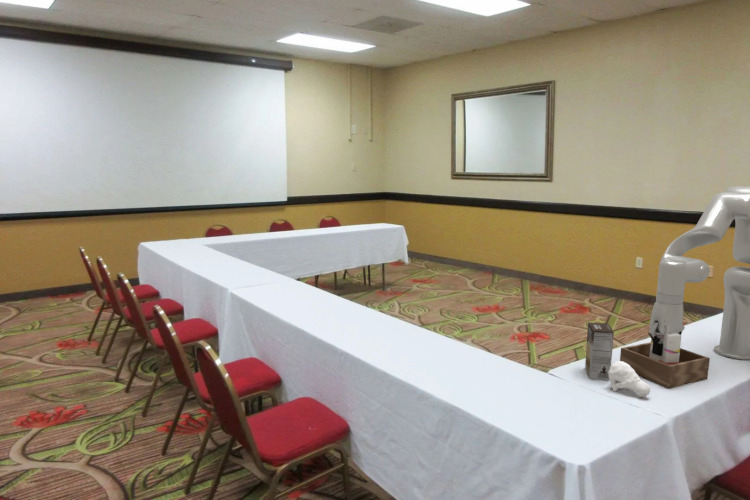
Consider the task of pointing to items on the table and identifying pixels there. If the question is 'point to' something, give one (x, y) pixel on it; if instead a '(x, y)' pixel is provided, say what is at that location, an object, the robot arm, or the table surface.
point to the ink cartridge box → (668, 348)
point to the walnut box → (666, 366)
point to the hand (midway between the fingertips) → (664, 352)
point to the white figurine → (627, 379)
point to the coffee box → (599, 350)
